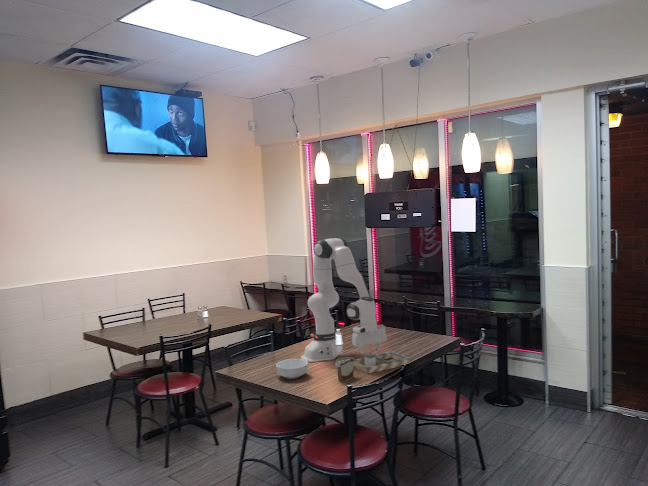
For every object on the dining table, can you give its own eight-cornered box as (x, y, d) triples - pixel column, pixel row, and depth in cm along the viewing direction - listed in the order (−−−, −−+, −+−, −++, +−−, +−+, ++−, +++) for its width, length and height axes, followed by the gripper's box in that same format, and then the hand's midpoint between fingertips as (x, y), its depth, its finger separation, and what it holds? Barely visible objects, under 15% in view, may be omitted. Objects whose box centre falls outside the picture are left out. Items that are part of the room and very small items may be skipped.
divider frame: (367, 373, 253) (367, 367, 253) (351, 365, 269) (351, 359, 268) (409, 364, 265) (409, 358, 265) (391, 357, 281) (391, 351, 281)
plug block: (369, 369, 261) (369, 356, 261) (364, 366, 265) (364, 354, 265) (376, 367, 263) (375, 355, 262) (371, 365, 267) (370, 352, 267)
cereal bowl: (270, 377, 255) (269, 364, 255) (294, 369, 267) (293, 356, 267) (291, 384, 243) (290, 370, 243) (315, 375, 255) (314, 362, 254)
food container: (345, 374, 254) (344, 355, 253) (355, 376, 250) (354, 357, 250) (331, 381, 244) (330, 361, 244) (340, 383, 241) (339, 363, 240)
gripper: (381, 323, 270) (383, 347, 271) (349, 328, 261) (351, 354, 262) (387, 324, 265) (389, 349, 265) (355, 330, 255) (357, 356, 256)
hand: (370, 352), depth 263 cm, fingers open, 8 cm apart
